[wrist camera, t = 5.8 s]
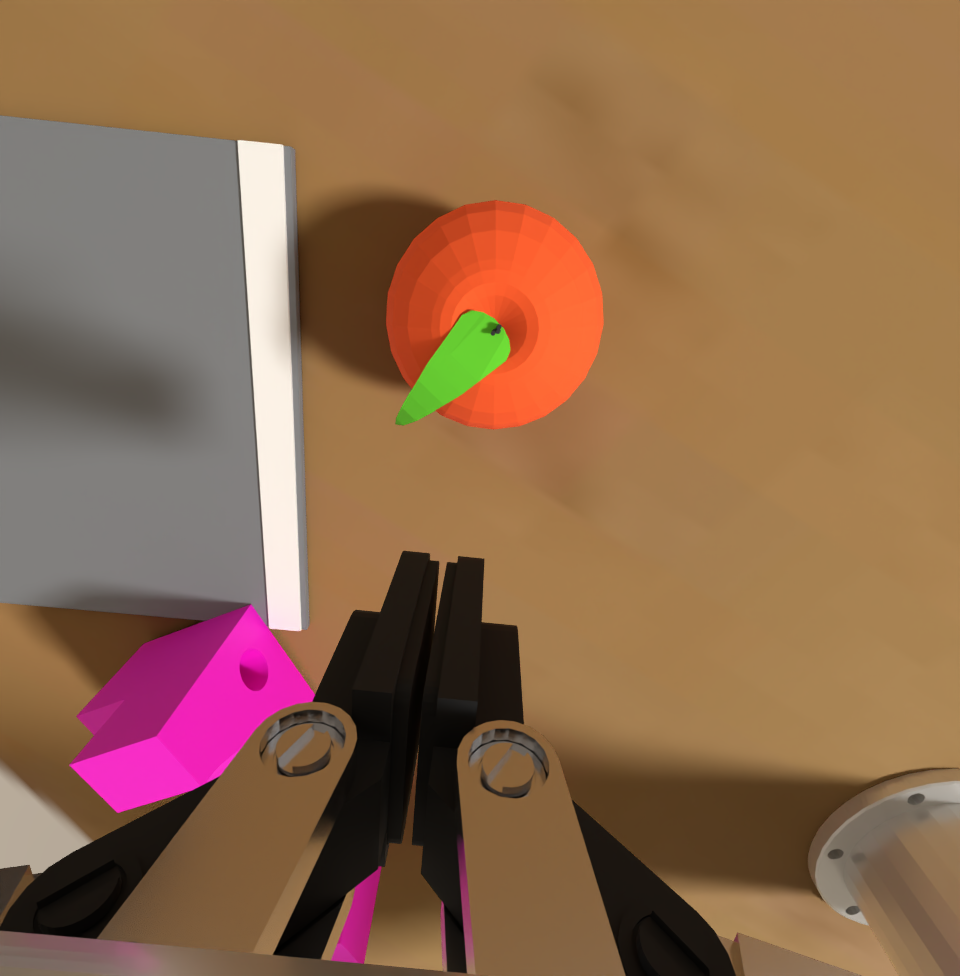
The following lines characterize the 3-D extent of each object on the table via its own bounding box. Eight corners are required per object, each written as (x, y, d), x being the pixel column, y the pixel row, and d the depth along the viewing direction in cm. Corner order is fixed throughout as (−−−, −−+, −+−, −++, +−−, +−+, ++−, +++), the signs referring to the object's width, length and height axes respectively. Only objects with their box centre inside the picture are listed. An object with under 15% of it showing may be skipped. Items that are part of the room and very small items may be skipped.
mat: (295, 149, 18) (289, 145, 18) (309, 624, 25) (305, 631, 25) (-143, 102, 18) (-161, 97, 17) (-1, 597, 25) (-11, 603, 24)
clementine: (474, 455, 22) (467, 528, 15) (349, 336, 20) (282, 360, 14) (620, 316, 20) (685, 331, 13) (494, 169, 18) (497, 102, 12)
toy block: (143, 643, 25) (14, 783, 18) (251, 604, 24) (156, 736, 17) (299, 831, 31) (243, 993, 24) (392, 805, 30) (362, 968, 23)
